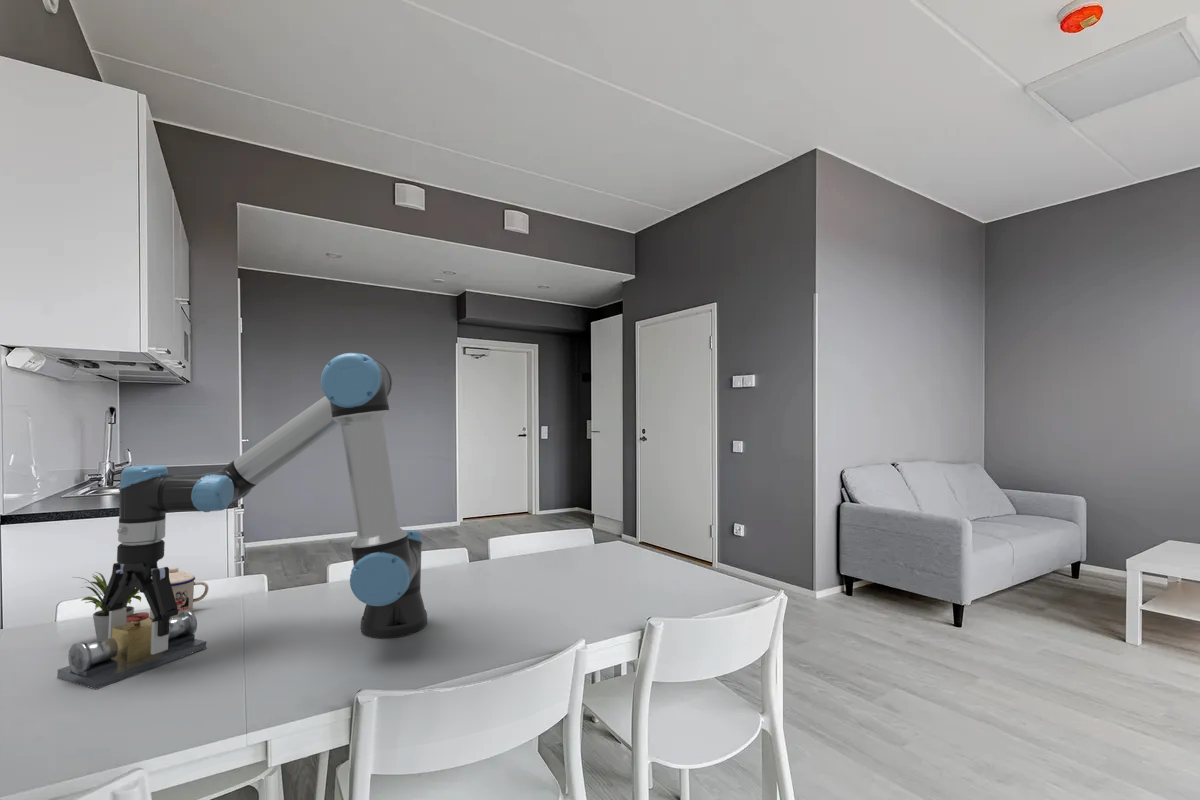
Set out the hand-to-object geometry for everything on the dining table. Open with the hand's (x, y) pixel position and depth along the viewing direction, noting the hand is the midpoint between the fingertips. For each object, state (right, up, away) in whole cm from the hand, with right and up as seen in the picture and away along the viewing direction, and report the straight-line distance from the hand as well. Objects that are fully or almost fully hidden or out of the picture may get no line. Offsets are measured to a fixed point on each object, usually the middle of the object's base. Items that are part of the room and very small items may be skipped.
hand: (137, 646), depth 115 cm
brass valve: (0, -2, 0) cm, 2 cm away
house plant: (-15, -3, +10) cm, 19 cm away
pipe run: (0, -3, 0) cm, 3 cm away
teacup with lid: (-13, -4, +28) cm, 31 cm away
